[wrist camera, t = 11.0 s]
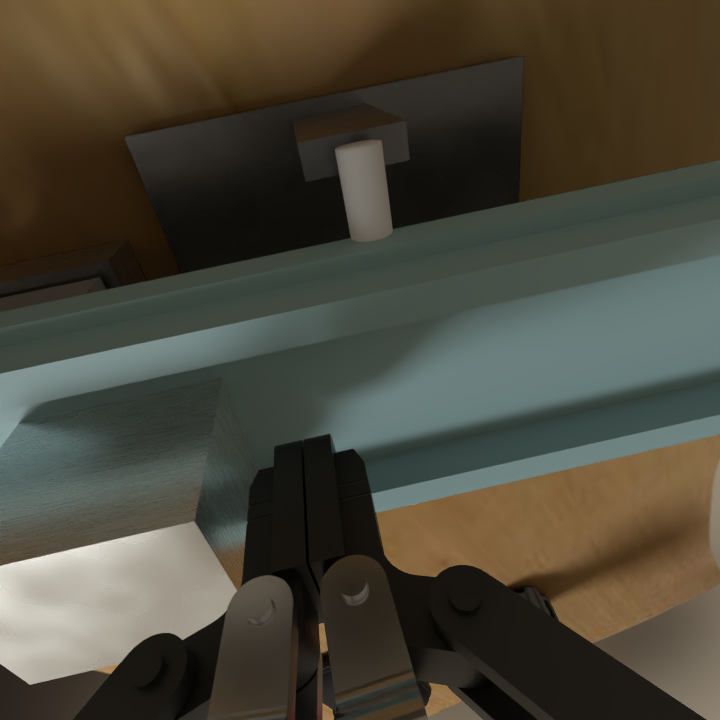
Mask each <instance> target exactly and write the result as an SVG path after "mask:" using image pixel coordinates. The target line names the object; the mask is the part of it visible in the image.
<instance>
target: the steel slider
mask: <svg viewBox="0 0 720 720" xmlns="http://www.w3.org/2000/svg"><path fill="white" fill-rule="evenodd" d="M261 469H262V468H261V466H260V463H259V461H258V459H257V456H256V454H255V452H254V449H253V447H252V445H251V442H250V440H249V438H248V435H247V433H246V431H245V428H244V426H243V424H242V421H241V419H240V417H239V414H238V412H237V410H236V407H235V405H234V403H233V400H232V398H231V396H230V393H229V391H228V389H227V386H226V384H225V382H224V380H223V378H218V379H214V380H209V381H205V382H200V383H196V384H191V385H187V386H182V387H178V388H173V389H169V390H164V391H160V392H155V393H151V394H146V395H142V396H137V397H133V398H128V399H124V400H119V401H115V402H111V403H106V404H102V405H97V406H93V407H88V408H84V409H79V410H75V411H70V412H66V413H61V414H57V415H52V416H48V417H43V418H39V419H34V420H30V421H25V422H21V423H18V425H17V426H16V427H15V429H14V430H13V431H12V433H11V434H10V435H9V437H8V438H7V439H6V441H5V442H4V444H3V445H2V446H1V448H0V664H1V665H3V666H4V667H6V668H7V669H8V670H10V671H11V672H13V673H14V674H16V675H17V676H19V677H20V678H22V679H23V680H24V681H26V682H27V683H28V684H35V683H39V682H43V681H48V680H52V679H56V678H60V677H65V676H68V675H73V674H78V673H81V672H86V671H90V670H95V669H99V668H103V667H107V666H111V665H116V664H120V663H121V662H122V661H123V659H124V658H125V657H126V656H127V655H128V653H129V652H130V651H131V650H132V649H133V648H134V647H135V646H137V645H138V644H139V643H140V642H142V641H143V640H145V639H146V638H148V637H150V636H153V635H156V634H159V633H172V634H175V635H177V636H178V637H179V638H181V639H182V640H183V639H185V638H187V637H188V636H190V635H192V634H194V633H195V632H197V631H199V630H200V629H202V628H204V627H206V626H207V625H209V624H211V623H212V622H214V621H215V620H217V619H218V618H219V617H220V616H222V615H223V614H224V613H225V612H226V611H227V607H228V605H229V603H230V601H231V599H232V597H233V596H234V594H235V593H236V592H237V591H238V590H239V589H240V587H241V583H242V574H243V562H244V550H245V538H246V526H247V524H248V522H247V514H248V509H249V506H248V502H249V490H250V486H251V484H252V482H253V480H254V478H255V476H256V474H257V473H258V471H259V470H261Z"/></svg>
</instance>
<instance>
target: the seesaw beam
mask: <svg viewBox="0 0 720 720" xmlns="http://www.w3.org/2000/svg"><path fill="white" fill-rule="evenodd" d="M335 153H336V159H337V164H338V170H339V175H340V181H341V187H342V192H343V198H344V203H345V209H346V214H347V220H348V225H349V231H350V236H351V238H349V239H344V240H339V241H335V242H330V243H325V244H320V245H316V246H311V247H306V248H301V249H297V250H292V251H287V252H283V253H278V254H273V255H268V256H264V257H259V258H254V259H249V260H245V261H240V262H235V263H231V264H226V265H221V266H216V267H212V268H207V269H202V270H197V271H193V272H188V273H183V274H179V275H174V276H169V277H164V278H160V279H155V280H150V281H145V282H141V283H136V284H131V285H127V286H122V287H117V288H112V289H108V290H106V288H105V286H104V284H103V282H102V280H101V278H100V277H98V278H94V279H89V280H84V281H79V282H75V283H70V284H65V285H60V286H56V287H51V288H46V289H41V290H37V291H32V292H27V293H22V294H18V295H13V296H8V297H3V298H0V448H1V446H2V445H3V444H4V442H5V441H6V439H7V438H8V437H9V435H10V434H11V433H12V431H13V430H14V429H15V427H16V426H17V425H18V423H21V422H25V421H30V420H34V419H39V418H43V417H48V416H52V415H57V414H61V413H66V412H70V411H75V410H79V409H84V408H88V407H93V406H97V405H102V404H106V403H111V402H115V401H119V400H124V399H128V398H133V397H137V396H142V395H146V394H151V393H155V392H160V391H164V390H169V389H173V388H178V387H182V386H187V385H191V384H196V383H200V382H205V381H209V380H214V379H218V378H223V380H224V382H225V384H226V386H227V389H228V391H229V393H230V396H231V398H232V400H233V403H234V405H235V407H236V410H237V412H238V414H239V417H240V419H241V421H242V424H243V426H244V428H245V431H246V433H247V435H248V438H249V440H250V442H251V445H252V447H253V449H254V452H255V454H256V456H257V459H258V461H259V463H260V466H261V468H262V469H266V468H270V467H274V448H275V446H277V445H282V444H286V443H291V442H295V441H299V440H303V441H304V439H308V438H312V437H317V436H321V435H325V434H331V436H332V439H333V443H334V446H335V450H336V452H340V451H345V450H349V449H354V450H355V451H356V452H357V453H358V455H359V456H360V457H361V458H362V459H363V461H364V463H365V468H366V472H367V476H368V480H369V485H370V489H371V493H372V497H373V502H374V507H375V512H376V513H378V512H382V511H386V510H391V509H395V508H400V507H404V506H408V505H415V504H418V503H421V502H426V501H430V500H435V499H439V498H443V497H448V496H452V495H457V494H461V493H465V492H470V491H474V490H478V489H483V488H487V487H492V486H496V485H500V484H505V483H509V482H513V481H518V480H522V479H527V478H531V477H535V476H540V475H544V474H549V473H553V472H557V471H562V470H566V469H570V468H575V467H579V466H584V465H588V464H592V463H597V462H601V461H605V460H610V459H614V458H619V457H623V456H627V455H632V454H636V453H641V452H645V451H649V450H654V449H658V448H662V447H667V446H671V445H676V444H680V443H684V442H689V441H693V440H697V439H702V438H706V437H711V436H715V435H719V434H720V160H717V161H713V162H708V163H703V164H699V165H694V166H689V167H684V168H680V169H675V170H670V171H665V172H661V173H656V174H651V175H647V176H642V177H637V178H632V179H628V180H623V181H618V182H613V183H609V184H604V185H599V186H595V187H590V188H585V189H580V190H576V191H571V192H566V193H561V194H557V195H552V196H547V197H543V198H538V199H533V200H528V201H524V202H519V203H514V204H509V205H505V206H500V207H495V208H491V209H486V210H481V211H476V212H472V213H467V214H462V215H457V216H453V217H448V218H443V219H439V220H434V221H429V222H424V223H420V224H415V225H410V226H405V227H401V228H396V229H393V228H392V220H391V212H390V204H389V196H388V188H387V180H386V172H385V164H384V156H383V148H382V141H381V140H365V141H358V142H353V143H349V144H345V145H342V146H340V147H337V148H336V149H335Z"/></svg>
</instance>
